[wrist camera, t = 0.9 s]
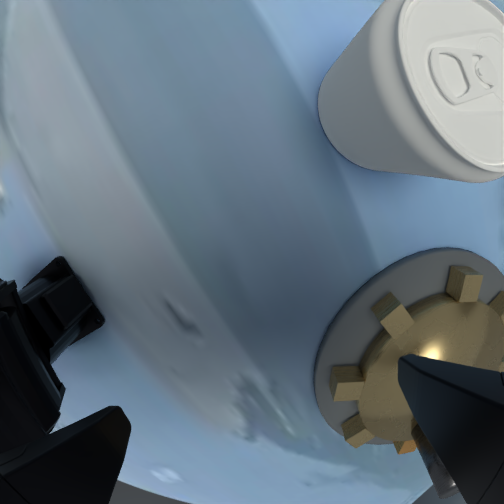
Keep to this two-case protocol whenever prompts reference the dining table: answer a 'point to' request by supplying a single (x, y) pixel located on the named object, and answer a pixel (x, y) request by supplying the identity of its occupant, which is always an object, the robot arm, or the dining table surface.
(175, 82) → the dining table surface
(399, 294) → the sprocket base
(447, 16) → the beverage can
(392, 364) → the sprocket
